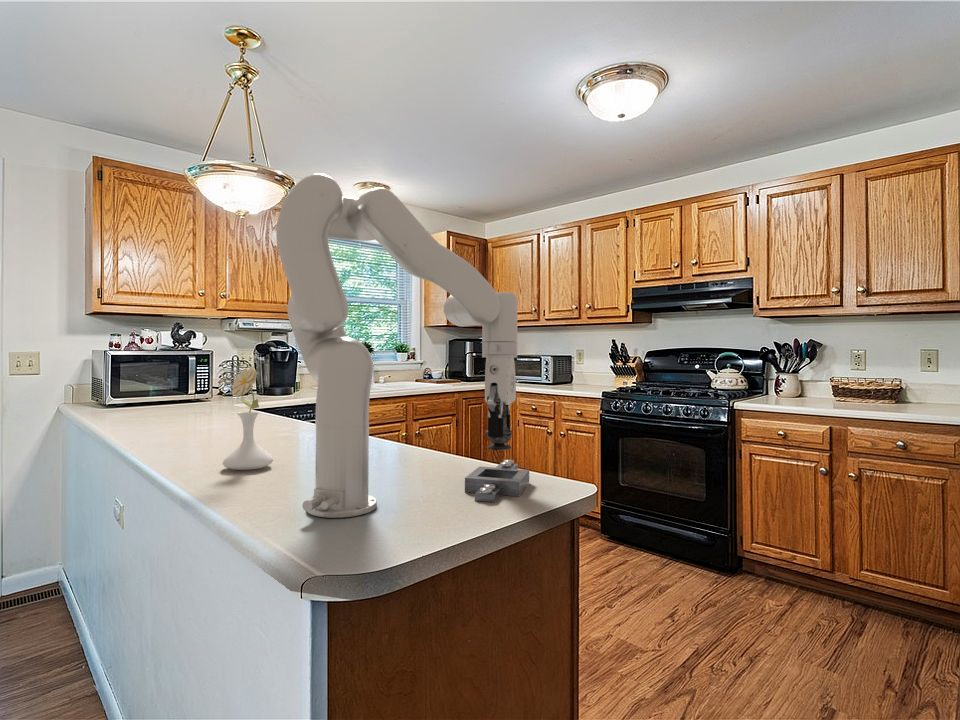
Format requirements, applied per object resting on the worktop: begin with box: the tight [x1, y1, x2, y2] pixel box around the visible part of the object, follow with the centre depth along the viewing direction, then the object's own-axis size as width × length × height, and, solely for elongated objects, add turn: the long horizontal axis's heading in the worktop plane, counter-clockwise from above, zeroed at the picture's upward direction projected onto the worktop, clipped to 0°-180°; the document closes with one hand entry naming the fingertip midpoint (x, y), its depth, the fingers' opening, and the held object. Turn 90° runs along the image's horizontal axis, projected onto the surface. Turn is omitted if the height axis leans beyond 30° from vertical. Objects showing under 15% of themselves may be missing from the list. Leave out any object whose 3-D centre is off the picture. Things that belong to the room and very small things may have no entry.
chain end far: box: [464, 459, 530, 489], centre depth 118 cm, size 17×12×4 cm, turn 165°
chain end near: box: [464, 476, 530, 503], centre depth 112 cm, size 17×12×2 cm, turn 165°
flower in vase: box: [222, 366, 274, 471], centre depth 130 cm, size 13×11×25 cm
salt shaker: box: [485, 402, 514, 451], centre depth 115 cm, size 6×6×12 cm
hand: (499, 433), depth 115 cm, fingers closed on salt shaker, 5 cm apart
